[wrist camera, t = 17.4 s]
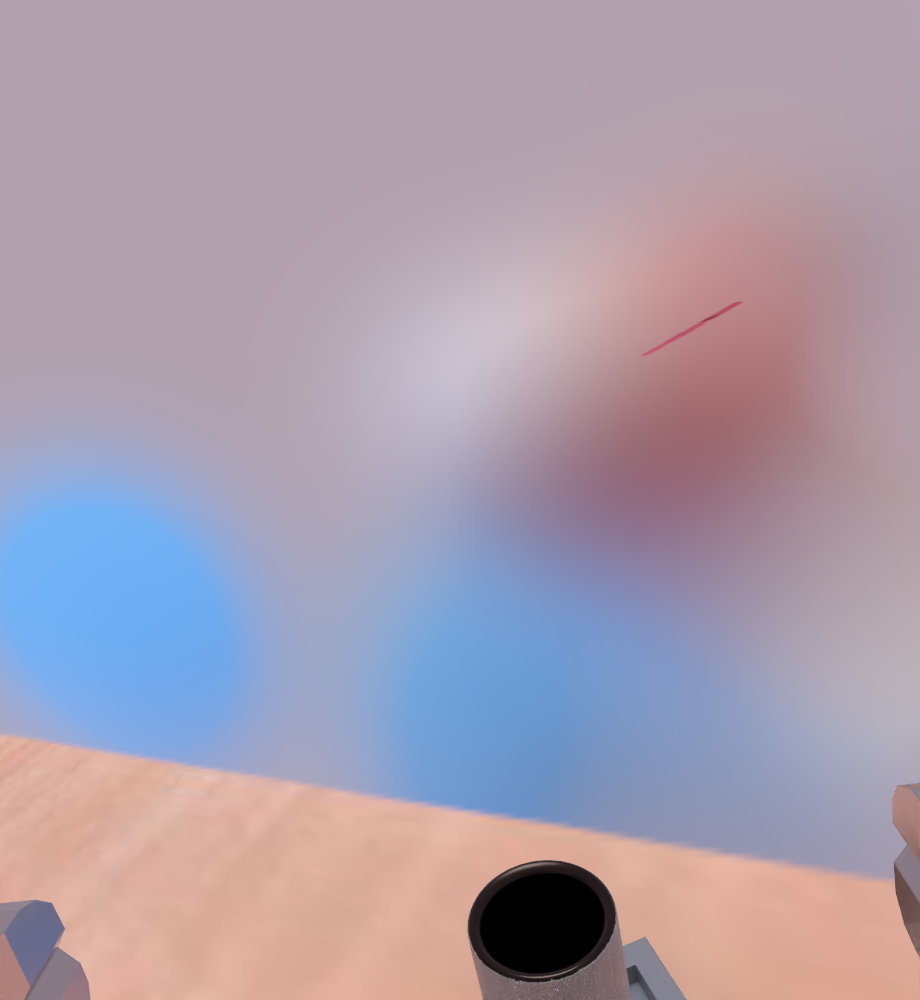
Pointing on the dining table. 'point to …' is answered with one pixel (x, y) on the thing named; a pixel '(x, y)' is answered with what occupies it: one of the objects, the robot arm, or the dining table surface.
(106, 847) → the dining table surface
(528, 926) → the grey cylindrical container
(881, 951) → the dining table surface
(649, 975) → the tray
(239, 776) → the dining table surface
